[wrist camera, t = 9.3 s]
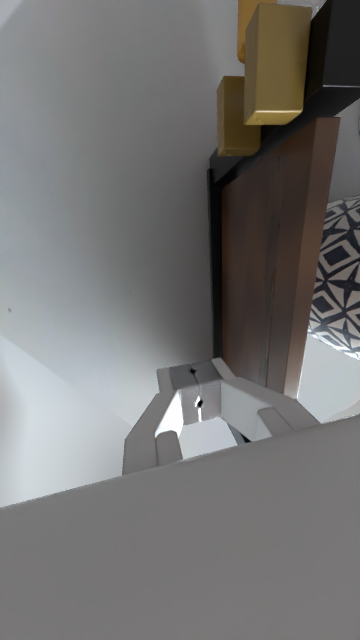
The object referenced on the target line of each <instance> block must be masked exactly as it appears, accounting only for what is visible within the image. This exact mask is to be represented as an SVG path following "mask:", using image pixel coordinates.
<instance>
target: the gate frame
mask: <svg viewBox="0 0 360 640" xmlns="http://www.w3.org/2000/svg"><path fill="white" fill-rule="evenodd" d="M311 18H312V8H311V7H304V6H293V5H281V4H270V3H259V4H258V5H257V7H256V9H255V11H254V13H253V15H252V17H251V19H250V22H249V24H248V26H247V28H246V31H245V77H242V76H223V78H222V80H221V82H220V84H219V86H218V89H217V139H218V147H217V149H216V150H215V151H214V153H213V154H212V155H211V157H210V158H209V159H210V169H208V170H207V191H208V220H209V249H210V279H211V308H212V337H213V359H215V358H222V360H223V318H222V189H223V188H224V187H225V186H227V185H228V184H229V183H231V182H232V181H233V180H235V179H236V178H237V177H239V176H240V175H241V174H242V173H244V172H245V171H246V170H248V169H249V168H250V167H252V166H253V165H254V164H256V163H257V162H258V161H260V160H261V159H262V158H264V157H265V156H266V155H268V154H269V153H270V152H272V151H273V150H274V149H276V148H277V147H278V146H279V145H281V144H282V143H283V142H285V141H286V140H287V139H289V138H290V137H291V136H293V135H294V134H295V133H297V132H298V131H299V130H301V129H302V128H303V127H305V126H306V125H307V124H309V123H310V122H311V121H312V120H314V119H315V118H316V117H334V116H335V115H336V114H338V113H339V112H341V111H342V110H344V109H345V108H346V107H348V106H349V105H351V104H352V103H354V102H355V101H357V100H358V99H359V98H360V0H326V2H325V3H324V4H323V6H322V7H321V8H320V10H319V11H318V12H317V14H316V15H315V16H314V18H313V19H312V20H311ZM227 424H228V423H227ZM228 426H229V428H230V430H231V432H232V434H233V436H234V438H235V440H236V442H237V444H238V445H241V444H245V443H249V442H252V441H250V440H249V439H248V438H246V437H245V436H244V435H243V434H241V433H240V432H239V431H237V430H236V429H235V428H234V427H232V426H231V425H230V424H228Z"/></svg>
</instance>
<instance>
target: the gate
mask: <svg viewBox="0 0 360 640" xmlns="http://www.w3.org/2000/svg"><path fill="white" fill-rule="evenodd" d="M339 125H340V117H316V118H315V119H314V120H312V121H311V122H310V123H309V124H307V125H306V126H305V127H303V128H302V129H301V130H299V131H298V132H297V133H295V134H294V135H293V136H291V137H290V138H289V139H287V140H286V141H285V142H283V143H282V144H281V145H279V146H278V147H277V148H276V149H274V150H273V151H272V152H270V153H269V154H268V155H266V156H265V157H264V158H262V159H261V160H260V161H258V162H257V163H256V164H254V165H253V166H252V167H250V168H249V169H248V170H246V171H245V172H244V173H242V174H241V175H240V176H239V177H237V178H236V179H235V180H233V181H232V182H231V183H229V184H228V185H227V186H225V187H224V188H223V189H222V318H223V361H224V362H225V363H226V365H227V366H228V367H229V369H230V370H231V371H232V372H233V374H234V375H235V376H236V377H241V378H244V379H246V380H249V381H251V382H254V383H256V384H258V385H261V386H263V387H266V388H268V389H271V390H273V391H276V392H278V393H280V394H283V395H285V396H288V397H290V398H293V399H295V400H297V397H298V391H299V384H300V378H301V371H302V365H303V358H304V352H305V345H306V339H307V332H308V326H309V319H310V313H311V306H312V300H313V293H314V287H315V280H316V274H317V267H318V261H319V255H320V248H321V242H322V235H323V229H324V222H325V216H326V209H327V203H328V196H329V190H330V183H331V177H332V170H333V164H334V157H335V151H336V144H337V138H338V131H339Z"/></svg>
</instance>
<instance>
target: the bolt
mask: <svg viewBox="0 0 360 640" xmlns="http://www.w3.org/2000/svg"><path fill="white" fill-rule="evenodd" d="M259 3H270V4H277V0H238V21H237V57H238V59H239V61H240V62H241V63H243V64H245V31H246V28H247V26H248V24H249V22H250V19H251V17H252V15H253V13H254V11H255V9H256V7H257V5H258V4H259Z"/></svg>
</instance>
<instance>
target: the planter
mask: <svg viewBox="0 0 360 640" xmlns="http://www.w3.org/2000/svg"><path fill="white" fill-rule="evenodd" d="M307 334H308V335H310V336H312V337H314V338H316V339H318V340H320V341H322V342H324V343H325V344H327V345H329V346H331V347H333V348H335V349H337V350H339V351H341V352H343V353H345V354H347V355H349V356H351V357H353V358H355V359H357V360H359V361H360V195H357V196H353V197H349V198H345V199H342V200H338V201H335V202H332V203H329V204H327V209H326V216H325V222H324V229H323V235H322V242H321V248H320V255H319V261H318V267H317V274H316V280H315V287H314V293H313V300H312V306H311V313H310V319H309V326H308V332H307Z"/></svg>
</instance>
